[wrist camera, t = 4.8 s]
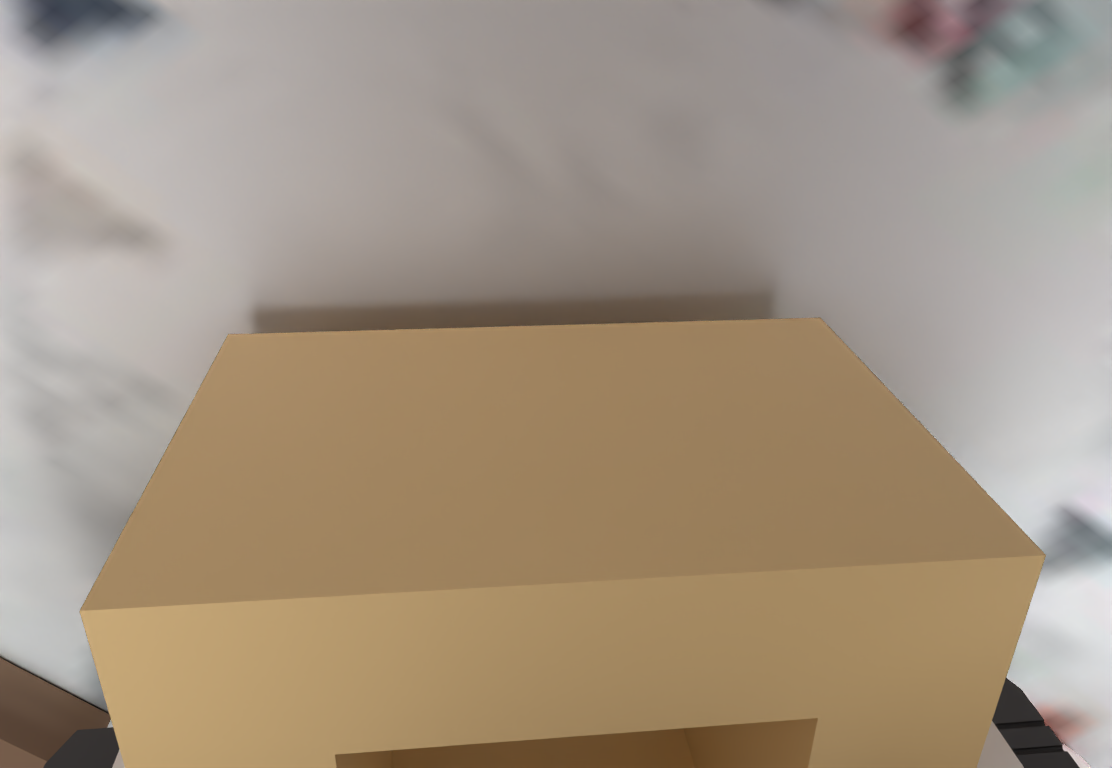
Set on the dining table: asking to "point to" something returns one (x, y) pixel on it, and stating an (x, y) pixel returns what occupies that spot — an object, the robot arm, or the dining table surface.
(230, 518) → the collar
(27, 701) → the post base
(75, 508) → the dining table surface
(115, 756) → the robot arm
